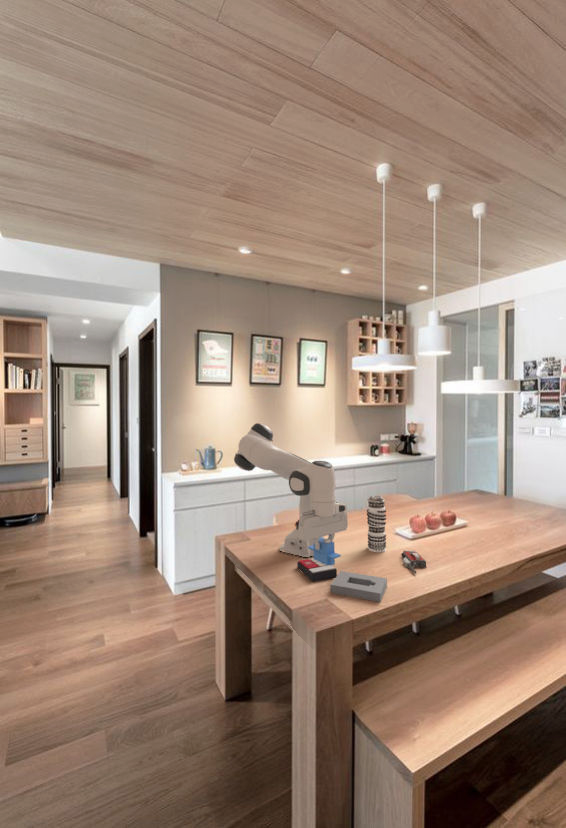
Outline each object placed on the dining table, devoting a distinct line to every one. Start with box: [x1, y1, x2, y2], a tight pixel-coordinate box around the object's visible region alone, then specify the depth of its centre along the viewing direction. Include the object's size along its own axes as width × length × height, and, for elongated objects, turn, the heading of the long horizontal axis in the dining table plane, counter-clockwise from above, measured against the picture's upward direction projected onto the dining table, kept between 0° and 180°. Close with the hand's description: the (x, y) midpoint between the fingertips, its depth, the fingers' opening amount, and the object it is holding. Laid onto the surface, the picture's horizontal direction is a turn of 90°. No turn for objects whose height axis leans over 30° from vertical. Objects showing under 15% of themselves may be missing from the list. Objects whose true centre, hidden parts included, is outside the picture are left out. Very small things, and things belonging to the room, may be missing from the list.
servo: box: [308, 537, 342, 566], centre depth 136 cm, size 13×4×8 cm, turn 36°
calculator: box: [297, 557, 338, 583], centre depth 161 cm, size 11×4×15 cm
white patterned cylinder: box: [366, 495, 387, 553], centre depth 186 cm, size 9×9×25 cm
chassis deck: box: [330, 570, 388, 603], centre depth 145 cm, size 18×13×3 cm
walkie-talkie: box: [400, 550, 427, 574], centre depth 167 cm, size 9×4×20 cm
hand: (323, 547), depth 136 cm, fingers closed on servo, 3 cm apart
